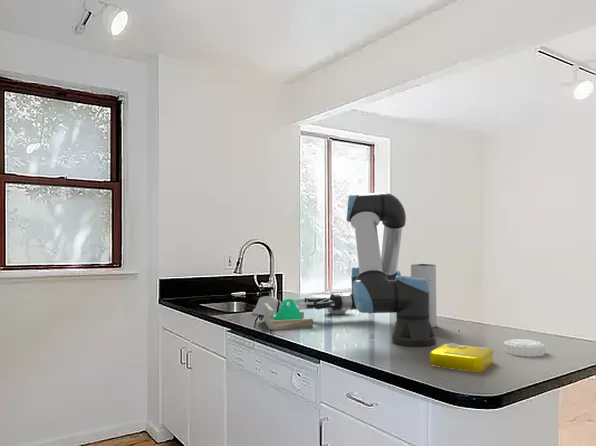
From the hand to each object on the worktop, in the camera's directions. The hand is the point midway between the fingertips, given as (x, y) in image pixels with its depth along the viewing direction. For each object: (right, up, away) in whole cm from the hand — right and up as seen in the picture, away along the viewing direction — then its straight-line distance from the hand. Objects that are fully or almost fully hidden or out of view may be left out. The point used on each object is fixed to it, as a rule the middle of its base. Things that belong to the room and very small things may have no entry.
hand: (294, 304), depth 222 cm
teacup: (+23, -9, +27) cm, 36 cm away
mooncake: (+74, -6, -60) cm, 95 cm away
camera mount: (-3, -8, +1) cm, 8 cm away
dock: (-4, -9, -1) cm, 10 cm away
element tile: (+50, -6, -73) cm, 88 cm away
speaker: (+54, -8, -10) cm, 56 cm away
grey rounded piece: (-14, -10, +29) cm, 34 cm away
